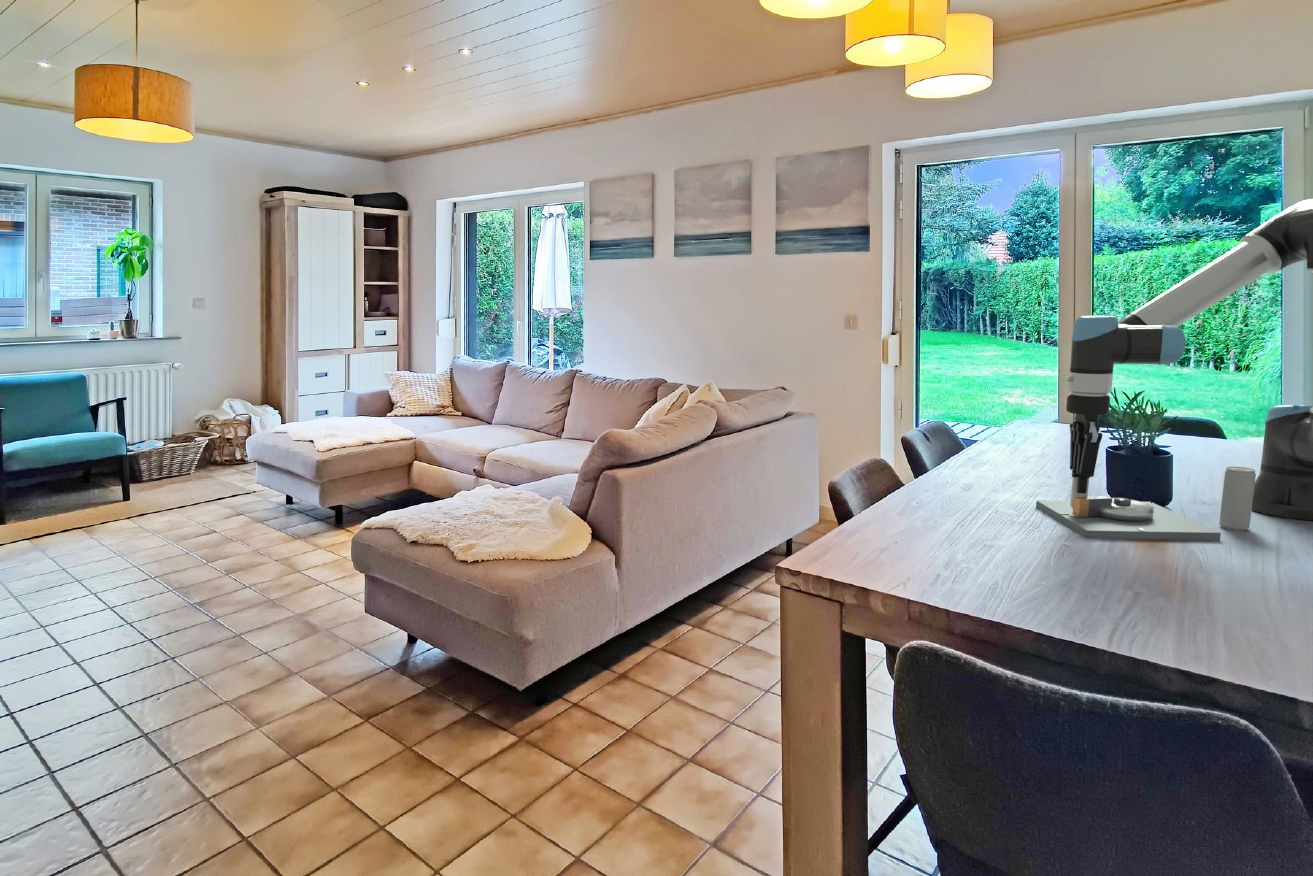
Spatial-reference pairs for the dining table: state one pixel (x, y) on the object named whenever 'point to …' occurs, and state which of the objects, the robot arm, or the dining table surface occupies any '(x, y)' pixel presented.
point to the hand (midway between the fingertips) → (1078, 507)
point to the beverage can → (1237, 498)
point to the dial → (1112, 508)
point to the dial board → (1130, 524)
